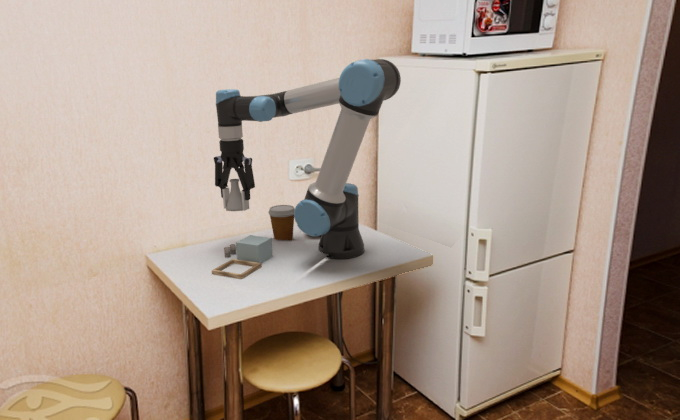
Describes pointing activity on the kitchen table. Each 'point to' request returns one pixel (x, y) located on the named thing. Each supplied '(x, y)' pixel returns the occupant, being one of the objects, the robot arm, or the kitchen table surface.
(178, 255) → the kitchen table surface
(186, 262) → the kitchen table surface
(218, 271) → the board
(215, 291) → the kitchen table surface
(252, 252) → the pale blue block
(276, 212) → the disposable coffee cup
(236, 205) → the flask
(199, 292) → the kitchen table surface
